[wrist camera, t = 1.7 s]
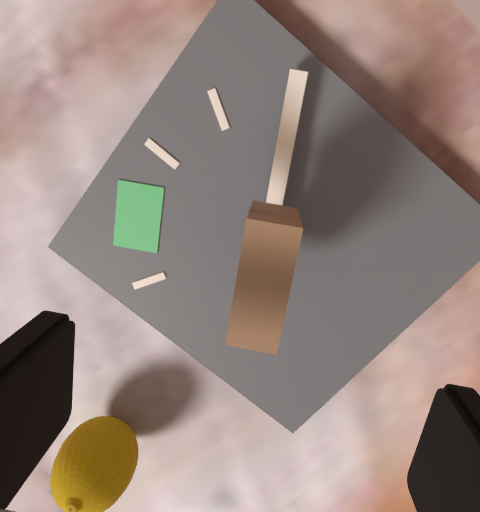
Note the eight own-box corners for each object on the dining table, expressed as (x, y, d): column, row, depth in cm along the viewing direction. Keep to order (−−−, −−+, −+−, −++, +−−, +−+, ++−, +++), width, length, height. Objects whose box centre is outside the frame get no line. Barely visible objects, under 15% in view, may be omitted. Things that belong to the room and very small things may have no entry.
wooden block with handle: (276, 287, 27) (276, 354, 19) (240, 281, 27) (225, 345, 19) (318, 76, 23) (342, 44, 15) (277, 69, 24) (277, 34, 15)
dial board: (497, 227, 27) (511, 232, 25) (292, 420, 32) (293, 434, 31) (234, -12, 24) (231, -21, 23) (59, 241, 30) (47, 247, 28)
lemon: (119, 383, 32) (70, 459, 25) (164, 432, 33) (131, 521, 26) (70, 417, 34) (10, 499, 26) (115, 463, 35) (70, 556, 27)
